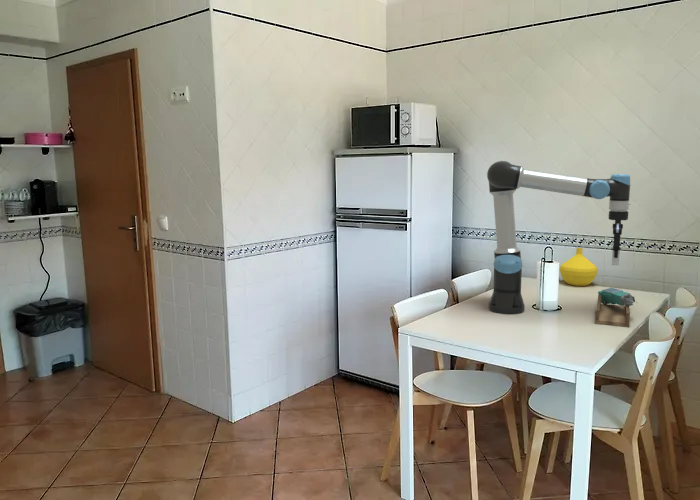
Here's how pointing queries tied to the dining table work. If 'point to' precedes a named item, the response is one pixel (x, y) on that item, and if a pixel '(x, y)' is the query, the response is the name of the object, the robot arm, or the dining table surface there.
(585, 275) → the vase
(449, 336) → the dining table surface
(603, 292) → the building
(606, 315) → the tray
